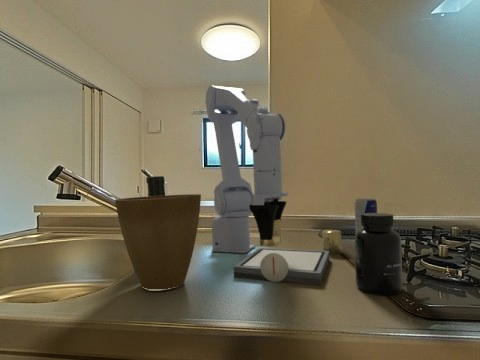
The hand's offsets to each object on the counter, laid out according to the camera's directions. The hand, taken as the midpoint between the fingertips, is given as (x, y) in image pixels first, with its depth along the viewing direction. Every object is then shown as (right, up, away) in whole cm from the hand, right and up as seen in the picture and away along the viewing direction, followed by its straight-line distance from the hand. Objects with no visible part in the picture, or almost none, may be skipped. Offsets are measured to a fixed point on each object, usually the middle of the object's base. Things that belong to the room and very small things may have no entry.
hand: (269, 237), depth 63 cm
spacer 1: (0, -1, 0) cm, 1 cm away
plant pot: (-20, -7, -8) cm, 23 cm away
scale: (+3, -6, -1) cm, 7 cm away
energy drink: (+27, -5, +16) cm, 32 cm away
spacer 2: (+16, -6, +11) cm, 20 cm away
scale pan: (+3, -5, -1) cm, 6 cm away
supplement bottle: (+16, -6, -14) cm, 22 cm away
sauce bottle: (-25, -7, +8) cm, 27 cm away
